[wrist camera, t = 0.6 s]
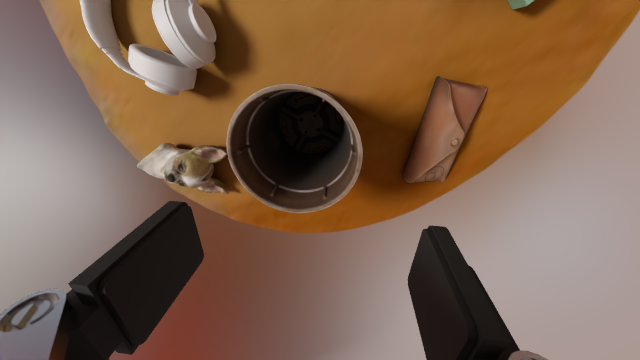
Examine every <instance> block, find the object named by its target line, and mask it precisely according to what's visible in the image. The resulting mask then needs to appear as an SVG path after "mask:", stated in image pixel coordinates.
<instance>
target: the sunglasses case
mask: <svg viewBox="0 0 640 360" xmlns="http://www.w3.org/2000/svg"><path fill="white" fill-rule="evenodd" d="M486 91H487V87H485V86H484V85H478V86H477V85H473V84H468V83H463V82H458V81H453V80H447V79H442V78H440V77H439V76H437V78H436V80H435V82H434V85H433V88H432V91H431V94H430V97H429V100H428V104H427V106H426V109H425V112H424V115H423V118H422V121H421V124H420V127H419V130H418V133H417V136H416V139H415V142H414V144H413V147H412V150H411V153H410V156H409V159H408V162H407V164H406V167H405V170H404V173H403V177H402V178H403V180H404V181H405V182H407V183H414V182H425V181H437V180H438V181H439V180H440V181H444V180H445V179H446V177H447V175H448V173H449V171H450V168H451V166H452V164H453V161H454V159H455V157H456V155H457V153H458V150H459V148H460V146H461V144H462V142H463V140H464V137H465V135H466V133H467V131H468V129H469V127H470V125H471V123H472V121H473V118H474V116H475V114H476V112H477V110H478V108H479V106H480V104H481V102H482V101H483V98H484V96H485V94H486Z"/></svg>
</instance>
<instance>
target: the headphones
mask: <svg viewBox="0 0 640 360" xmlns="http://www.w3.org/2000/svg"><path fill="white" fill-rule="evenodd" d="M80 4H81V10H82V16H83V20H84V23H85V26H86V29H87V30H88V32H89V34H90V36H91V38H92V39H93V41H94V42H95V43H96V44H97V46H98V47H99V48H100V49H102V50H103V51H104V53H105V54H106V55H108V56H109V58H110V59H111V60H112V61H113V62H114V63H115V64H116V65H117V66H118V67H119V68H120V69H122V70H124V71H125V72H127V73H129V74H131V75H134V76H136V77H138V78H140V79H143V80H145V84H146V85H147V86H148V87H150V88H151V89H153V90H156V91H158V92H161V93H164V94H169V95H178V94H179V91H183V90H190V89H193V88H194V85H195V81H196V75H197V70H196V69H197V68H201V67H203V66H205V65H207V64H209V63H211V62H213V61H214V59H215V54H216V51H215V45H214V42H215V41H216V31H215V29H214V26H213V24H212V21H211V20H210V18H209V16H208V15H207V13H206V12H205V10H204V9H203V8H202V7H201V6H200V5H199V4H198V1H197V0H154V1H153V5H152V13H153V19H154V21H155V24H156V27H157V29H158V31H159V33H160V35H161V37H162V39H163V40H164V42H165V44H166V45H167V46H168V48H169V49H170V50H171V52H172V53H173V54H174V55H175V56H174V55H172V54H169V53H167V52H164V51H162V50H159V49H156V48H153V47H149V46H145V45H141V44H131V45H130V46H129V57H128V61H129V63H130V65H129V64H128V63H127V61H126V60H125V59H124V57H123V56H122V55H123V54H122V53H121V52H120V51H121V46H120V43H119V40H118V37H117V34H116V30H115V27H114V23H113V19H112V13H111V0H80Z"/></svg>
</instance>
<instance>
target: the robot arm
mask: <svg viewBox="0 0 640 360" xmlns="http://www.w3.org/2000/svg"><path fill="white" fill-rule="evenodd" d="M203 257H204V253H203V249H202V246H201V242H200V238H199V235H198V231H197V228H196V224H195V220H194V216H193V213H192V209H191V207H189V206H188V204H187V203H185V202H177V201H169V202H168V203H166V204H165V205H164V206H163V207H161V208H160V209H159V210H158V211H157V212H155V213H154V214H153V215H152V216H150V217H149V218H148V219H147V220H146V221H144V222H143V223H142V224H141V225H140V226H138V227H137V228H136V229H135V230H133V231H132V232H131V233H130V234H128V235H127V236H126V237H125V238H123V239H122V240H121V241H120V242H119V243H117V244H116V245H115V246H114V247H112V249H110V250H109V251H108V252H106V253H105V254H104V255H103V256H102V257H101V258H99V259H98V260H97V261H95V262H94V263H93V264H92V265H91V266H89V267H88V268H87V269H86V270H84V271H83V272H82V273H81V274H79V275H78V276H77V277H76V278H75V279H73V280H72V281H71V282H70V283H69V285H70V287H71V288H72V290H71V291H70V292H68V293H67V294H66V292H65V291H64V290H62V289H58V288H53V289H46V290H42V291H38V292H36V293H34V294H31V295H28V296H27V297H24V298H23V299H21V300H19V301H17V302H15V303H14V304H12V305H11V306H10V307H8V308H7V309H5V310H4V311H3V312H2V313H1V314H0V360H109V357H110V356H111V354H112V353H113V352H114V351H115V350H116V352H118V353H124V354H131V355H132V354H133V353H134V351H135V350H136V349H137V347H138V346H139V345H141V344H143V343H144V342H145V341H146V340H147V338H148V337H149V335H150V334H151V333H152V331H153V330H154V328H155V327H156V326H157V324H158V323H159V321H160V320H161V318H162V317H163V316H164V314H165V313H166V312H167V310H168V309H169V307H170V306H171V304H172V303H173V302H174V300H175V299H176V297H177V296H178V295H179V293H180V291H181V290H182V289H183V287H184V286H185V285H186V283H187V282H188V281H189V279H190V278H191V276H192V275H193V274H194V272H195V271H196V269H197V268H198V266H199V265H200V264H201V262H202V260H203ZM408 287H409V291H410V295H411V299H412V302H413V307H414V310H415V314H416V319H417V323H418V327H419V331H420V335H421V338H422V342H423V346H424V351H425V354H426V359H427V360H547V359H546V358H544V357H542V356H540V355H538V354H535V353H532V352H529V351H520V350H519V348H518V346H517V344H516V343H515V341H514V339H513V337H512V336H511V334H510V332H509V330H508V329H507V327H506V325H505V323H504V322H503V320H502V318H501V317H500V315H499V313H498V311H497V309H496V308H495V306H494V304H493V302H492V301H491V299H490V297H489V296H488V294H487V292H486V290H485V288H484V287H483V285H482V283H481V281H480V280H479V278H478V276H477V275H476V273H475V271H474V270H473V268H472V267H470V266H469V265H468V264H467V263H466V261H465V259H464V257H463V255H462V254H461V252H460V250H459V248H458V246H457V245H456V243H455V241H454V239H453V237H452V236H451V234H450V232H449V230H448V229H447V228H446V227H440V226H429V227H428V229H423V231H422V234H421V237H420V241H419V244H418V247H417V250H416V253H415V257H414V260H413V263H412V266H411V269H410V273H409V276H408Z"/></svg>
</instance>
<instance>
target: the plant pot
mask: <svg viewBox="0 0 640 360" xmlns="http://www.w3.org/2000/svg"><path fill="white" fill-rule="evenodd" d="M301 94H309V96H308V97H303V98H301V99H299V100H295V97H296V96H298V95H301ZM334 110H336V111H337V112H338V115H339V118H340V123H339V124H337V122H336V116H335V113H334ZM314 114H316V115H317V117H316V118H315V117H313V115H314ZM300 118H303V121H300ZM283 124H285V126H286V129H287V131H288V134H289V136H290V137H289V138H288V137H287V136H286V134H285V132H284V129H283ZM318 128H320V129H321V130H320V131H317V129H318ZM305 131H307V135H305V134H304V132H305ZM321 146H325V148H324V149H321V150H318V151H312V149H314V148H319V147H321ZM227 154H228V159H229V162H230V165H231V167H232V169H233V171H234V173H235V175H236V177H237V178H238V180H239V181H240V183H241V184H242V185H243V186H244V188H245V189H246V190H247V191H248V192H249V193H250V194H252V195H253V196H254V197H255V198H257V199H258V200H259V201H261V202H262V203H264V204H266V205H268V206H270V207H272V208H275V209H278V210H281V211H285V212H291V213H307V212H314V211H318V210H322V209H325V208H327V207H329V206H331V205H333V204H335V203H336V202H338V201H339V200H341V199H342V198H343V197H344V196H345V195H346V194H347V193H348V192H349V191H350V190H351V188H352V187H353V186H354V184H355V182H356V180H357V178H358V176H359V173H360V170H361V166H362V159H363V150H362V142H361V138H360V135H359V132H358V129H357V127H356V125H355V123H354V121H353V120H352V118H351V117H350V115H349V114H348V113H347V111H346V110H345V109H344V108H343V107H342V106H341V105H340V104H339V103H338V101H337V100H336V99H335V98H334V97H333V96H332V95H330V94H329V93H327V92H326V91H324V90H321V89H318V88H312V87H308V86H303V85H297V84H280V85H274V86H270V87H267V88H264V89H262V90H260V91H258V92H256V93H254V94H253V95H251V96H250V97H248V98H247V99H246V100H245V101H244V102H243V103H242V104H241V105H240V106H239V107H238V109H237V110H236V112H235V113H234V115H233V117H232V119H231V122H230V125H229V128H228V132H227Z"/></svg>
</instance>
